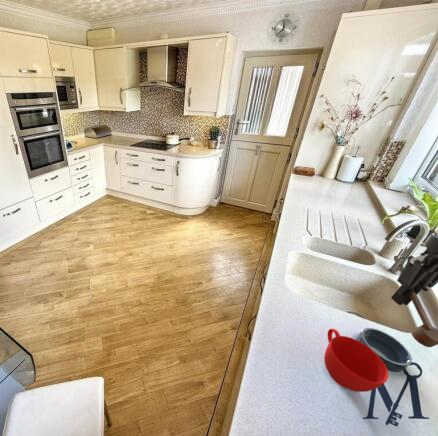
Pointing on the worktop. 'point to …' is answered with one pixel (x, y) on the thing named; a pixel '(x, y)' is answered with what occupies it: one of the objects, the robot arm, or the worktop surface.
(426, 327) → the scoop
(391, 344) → the bowl
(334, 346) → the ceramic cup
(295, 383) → the worktop surface
